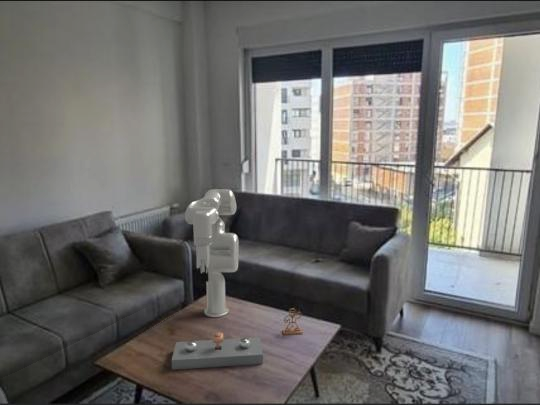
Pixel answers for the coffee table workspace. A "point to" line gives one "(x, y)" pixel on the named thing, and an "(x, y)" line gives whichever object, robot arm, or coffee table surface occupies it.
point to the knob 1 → (191, 346)
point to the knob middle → (217, 339)
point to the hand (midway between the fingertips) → (204, 281)
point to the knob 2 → (244, 343)
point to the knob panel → (217, 354)
